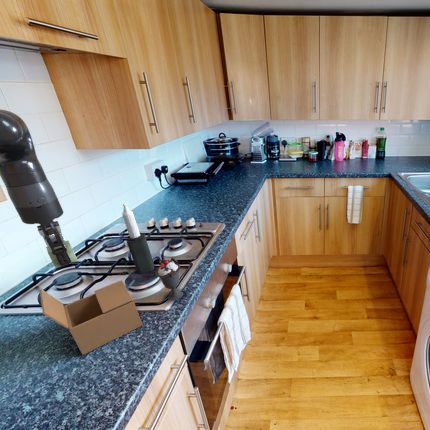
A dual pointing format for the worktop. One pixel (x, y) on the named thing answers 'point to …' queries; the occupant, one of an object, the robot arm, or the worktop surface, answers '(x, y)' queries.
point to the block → (69, 251)
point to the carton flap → (53, 308)
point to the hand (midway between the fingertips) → (64, 260)
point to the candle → (137, 244)
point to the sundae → (170, 277)
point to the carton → (102, 317)
